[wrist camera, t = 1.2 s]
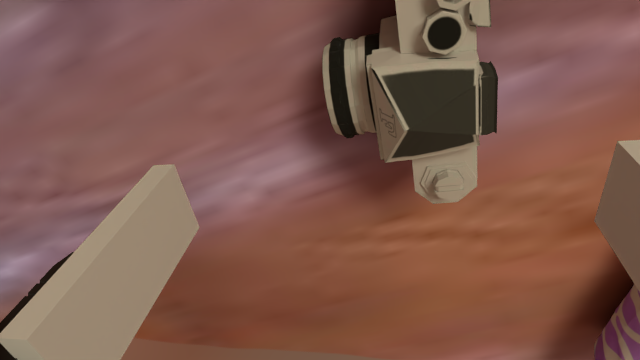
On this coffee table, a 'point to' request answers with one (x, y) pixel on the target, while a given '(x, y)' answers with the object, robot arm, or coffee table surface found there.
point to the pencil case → (621, 331)
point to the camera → (418, 91)
